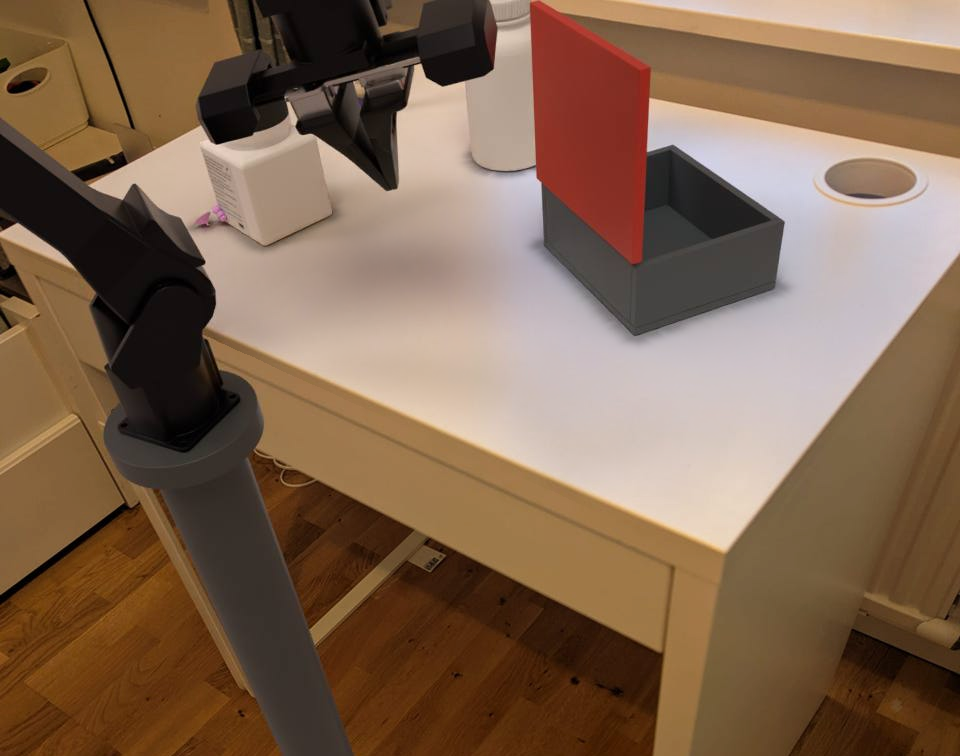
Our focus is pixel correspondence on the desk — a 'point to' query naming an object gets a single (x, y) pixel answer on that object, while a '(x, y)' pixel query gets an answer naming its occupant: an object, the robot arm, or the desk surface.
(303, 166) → the container
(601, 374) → the desk surface
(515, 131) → the pill bottle
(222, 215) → the pink bumpy piece
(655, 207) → the box
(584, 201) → the lid
